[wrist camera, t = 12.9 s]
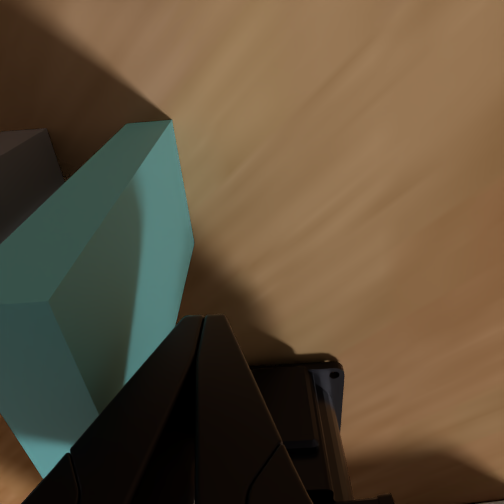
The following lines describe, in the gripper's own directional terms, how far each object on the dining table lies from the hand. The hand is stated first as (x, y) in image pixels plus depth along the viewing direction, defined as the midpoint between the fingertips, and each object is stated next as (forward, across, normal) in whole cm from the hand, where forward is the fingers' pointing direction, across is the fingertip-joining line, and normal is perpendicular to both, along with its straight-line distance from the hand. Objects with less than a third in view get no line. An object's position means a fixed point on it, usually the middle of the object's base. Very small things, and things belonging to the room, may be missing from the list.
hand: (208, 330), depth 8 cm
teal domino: (+8, +2, 0) cm, 8 cm away
